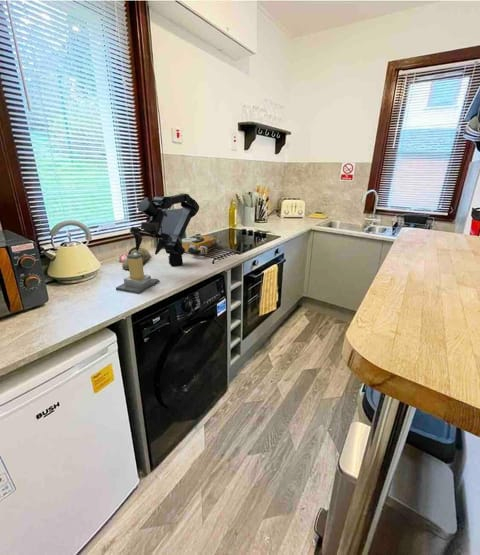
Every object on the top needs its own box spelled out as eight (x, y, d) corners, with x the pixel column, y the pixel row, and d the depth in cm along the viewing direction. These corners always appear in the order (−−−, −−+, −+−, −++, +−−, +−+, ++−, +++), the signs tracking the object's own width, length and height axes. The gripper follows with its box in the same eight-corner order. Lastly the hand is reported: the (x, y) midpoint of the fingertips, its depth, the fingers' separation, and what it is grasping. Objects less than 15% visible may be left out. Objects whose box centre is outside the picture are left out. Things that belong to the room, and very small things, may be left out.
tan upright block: (136, 281, 123) (132, 251, 118) (145, 282, 121) (141, 252, 116) (131, 284, 120) (126, 254, 114) (139, 285, 118) (135, 255, 113)
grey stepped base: (137, 278, 129) (136, 270, 127) (159, 281, 125) (158, 273, 124) (116, 289, 117) (114, 281, 115) (139, 293, 113) (138, 284, 111)
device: (226, 236, 177) (198, 246, 152) (226, 248, 180) (199, 260, 155) (198, 232, 187) (168, 241, 162) (199, 244, 190) (169, 254, 165)
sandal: (152, 254, 167) (151, 241, 164) (141, 270, 139) (139, 255, 137) (132, 254, 166) (130, 241, 163) (117, 271, 138) (115, 256, 135)
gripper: (129, 210, 121) (118, 242, 118) (169, 218, 119) (159, 251, 116) (139, 219, 132) (130, 250, 129) (176, 227, 130) (167, 258, 127)
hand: (146, 252), depth 125 cm, fingers open, 9 cm apart
